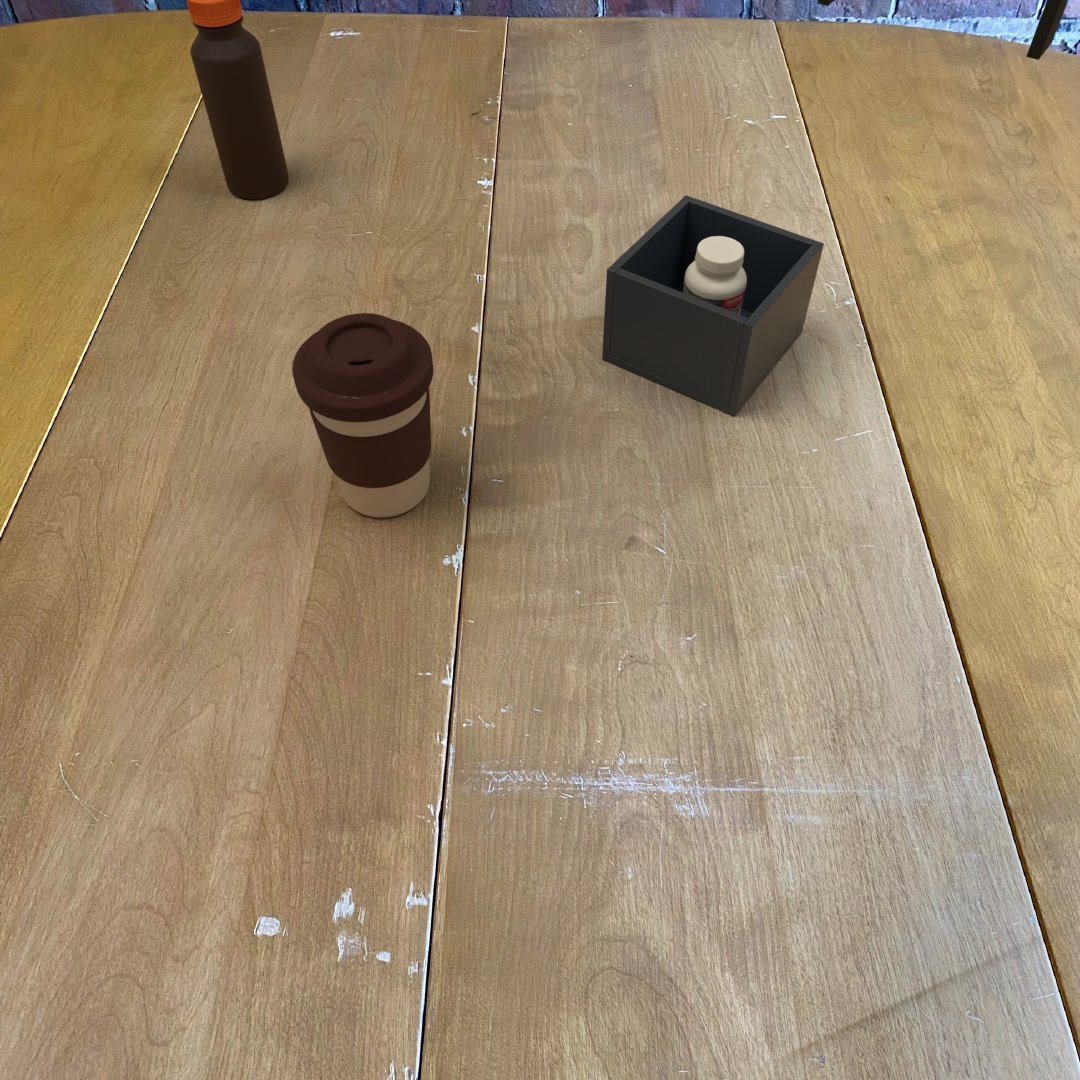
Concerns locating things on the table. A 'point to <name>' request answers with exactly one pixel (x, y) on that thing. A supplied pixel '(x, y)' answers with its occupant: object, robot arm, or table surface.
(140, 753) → the table surface
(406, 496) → the coffee cup
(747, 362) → the waste bin
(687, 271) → the pill bottle
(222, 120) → the brown water bottle
